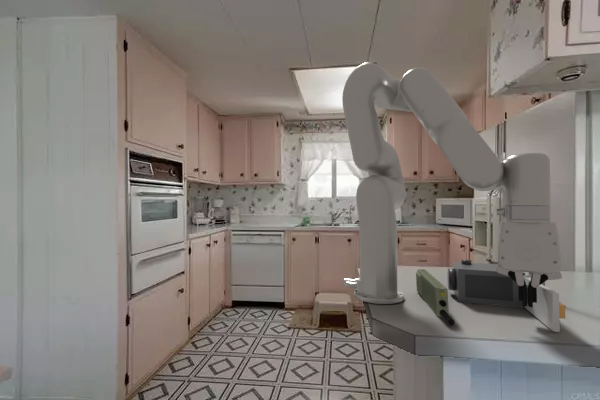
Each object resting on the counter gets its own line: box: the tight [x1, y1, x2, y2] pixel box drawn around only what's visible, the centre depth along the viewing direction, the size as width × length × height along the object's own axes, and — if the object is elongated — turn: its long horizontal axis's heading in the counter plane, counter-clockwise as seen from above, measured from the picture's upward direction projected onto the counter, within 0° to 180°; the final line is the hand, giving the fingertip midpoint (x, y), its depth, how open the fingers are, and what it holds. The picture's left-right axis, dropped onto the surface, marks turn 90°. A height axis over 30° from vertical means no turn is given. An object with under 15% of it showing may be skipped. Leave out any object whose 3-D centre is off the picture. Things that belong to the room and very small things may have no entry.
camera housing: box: [446, 258, 526, 309], centre depth 79 cm, size 16×10×9 cm, turn 70°
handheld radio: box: [415, 268, 456, 327], centre depth 73 cm, size 7×3×25 cm
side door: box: [523, 274, 566, 333], centre depth 64 cm, size 15×2×7 cm, turn 162°
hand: (527, 304), depth 63 cm, fingers closed
